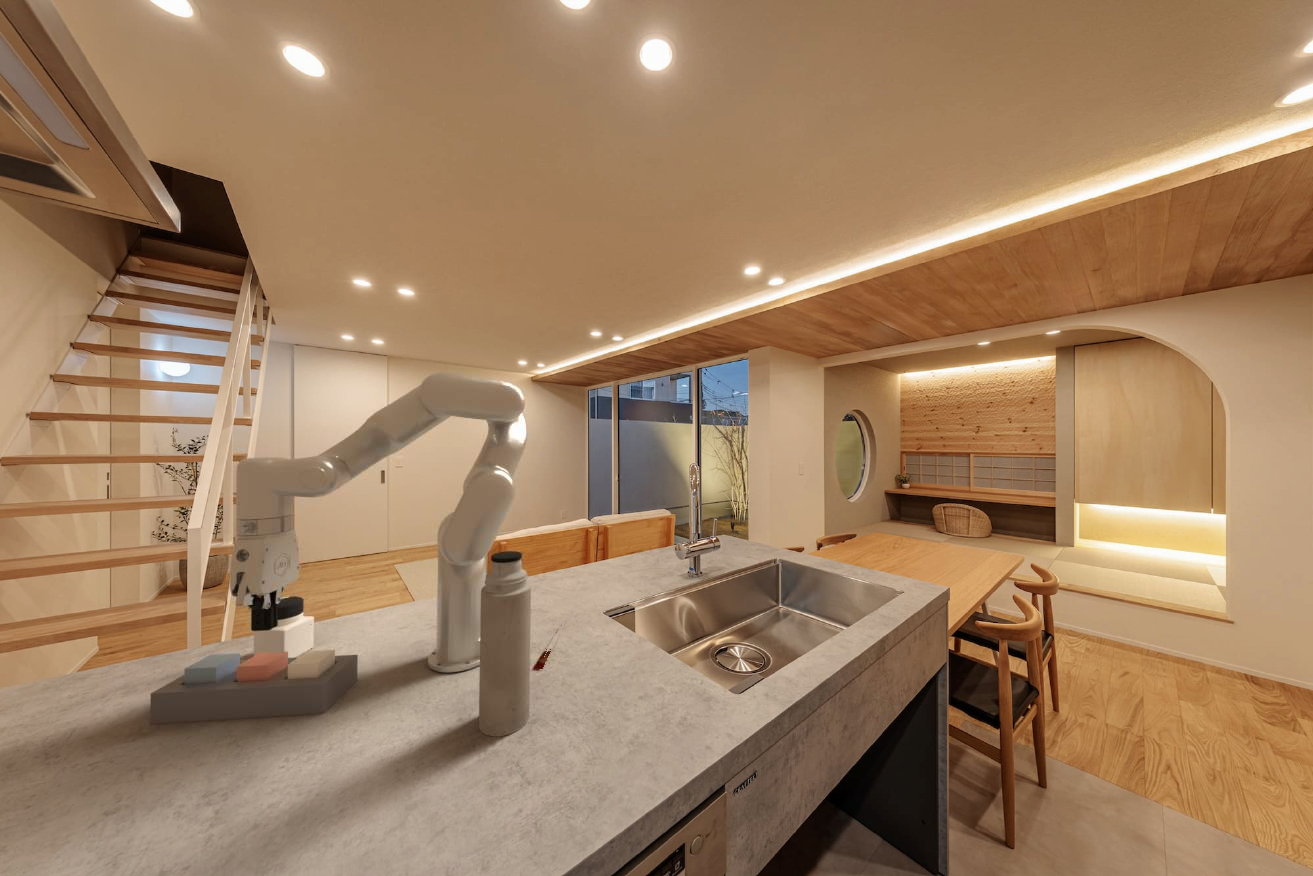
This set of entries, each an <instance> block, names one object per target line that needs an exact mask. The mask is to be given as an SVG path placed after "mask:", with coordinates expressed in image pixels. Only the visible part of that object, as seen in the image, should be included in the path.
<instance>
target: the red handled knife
mask: <svg viewBox="0 0 1313 876" xmlns="http://www.w3.org/2000/svg"><path fill="white" fill-rule="evenodd" d="M545 649H546V648H545ZM546 650H547V649H546ZM550 650H551V649H550ZM546 652H547V651H544V650H543V652H542V653H541V655H540V656H539V658H538V660H537V661H536V663H535V664H534V666H533V667H532V670H533V669H543V670H544V668H545V666H546V664H545V662H546V661H548V660H547V658H548V656H549V654H550V652H551V651H548V652H547V653H546ZM551 653H552V652H551ZM545 654H546V655H545ZM550 655H551V654H550ZM544 656H545V657H544ZM549 657H550V656H549ZM548 659H549V658H548ZM546 663H547V662H546ZM544 665H545V666H544ZM543 667H544V668H543Z"/></svg>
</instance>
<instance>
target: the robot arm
mask: <svg viewBox="0 0 1313 876" xmlns="http://www.w3.org/2000/svg"><path fill="white" fill-rule="evenodd" d="M525 406H526V399H525V395H524V394H523V392H522V390H521V389H520V388H519V387H518V386H517V385H516V384H513V383H511V382H509V381H506V380H500V379H492V378H485V377H479V376H478V377H477V376H471V375H464V374H458V373H451V372H450V373H449V372H444V371H443V372H434V373H433V374H430V375H428V376H427V377H425V378H424V379H423V380H422V382H421V384H420V385H418V386H416V387H415V388H413V389H412V390H410V391H409V392H408V393H405V394H404V395H402V396H401V397H399V398H398V399H395V400H394V401H392V402H391V403H389V404H387V405H385V406H384V407H383V408H380V409H378V410H377V411H376V412H374V413H373V414H372V415H370V416H369V417H368V418H367V419H366V420H365V422H364V423H362V425H361V426H360V427H358V429H357V430H355V431H354V432H353V433H351V434H350V435H348V436H347V437H345V438H344V439H342V440H341V441H340V442H338V443H336V444H334V445H333V446H331V447H330V448H327V449H326V450H324V451H323V452H321V453H320V454H318V455H314V456H307V457H301V458H292V459H289V458H286V457H271V456H270V457H267V456H266V457H248V458H244V459H242V460H239V462H238V463H237V465H236V475H235V476H236V479H235V482H236V485H235V488H236V489H235V490H236V491H235V492H236V493H235V494H236V495H235V496H236V497H235V502H236V503H235V506H236V507H235V509H236V510H235V511H236V512H235V514H236V515H235V516H236V517H235V520H236V522H235V540H234V543H233V548H232V549H233V550H232V556H231V561H230V572H229V591H230V594H231V596H233V597H236V599H235V600H236V601H235V606H236V607H246V606H247V609H248V610H249V611H250V610H251V612H250V613H251V614H250V616H251V617H250V618H251V619H250V630H251V631H252V632H254V631H267V630H271V629H272V628H274V627H276V626H277V625H278V603H279V602H280V600H281V598H282V593H283V591H284V590H285V589H286V588H288V587H289V586H291V584H292V583H294V582H296V581H297V580H298V579H299V577H300V555H299V545H298V544H299V543H298V538H297V535H296V530H295V529H294V497H295V498H298V497H299V498H321V497H325V496H328V495H330V494H332V493H333V492H335V491H336V490H338V489H340V488H341V487H343V486H345V484H347V483H348V482H350V481H352V480H353V479H355V478H356V477H358V476H360V475H361V474H362V473H364V472H366V470H368V469H370V468H372V467H373V466H374V465H376V464H378V463H379V462H381V461H382V460H384V459H386V458H387V457H390V456H391V455H395V453H398V452H399V451H400V450H403V449H404V448H406V447H407V446H409V445H410V444H411V443H413V442H414V441H416V440H418V439H419V438H420V437H422V436H423V435H425V434H426V433H429V431H431V430H432V429H434V428H435V427H437V426H438V425H440V424H442V423H443V422H444V421H446V420H447V419H449V418H451V417H458V418H465V419H473V420H483V421H486V423H487V427H488V428H487V430H488V431H487V435H486V438H485V441H484V443H483V445H482V447H481V449H480V451H479V453H478V456H477V458H476V459H475V461H474V463H473V465H472V468H471V469H470V471H469V472H468V474H467V475H466V476H465V477H466V478H465V479H464V482H463V485H462V491H463V493H462V495H461V497H460V499H459V502H458V503H457V505H456V507H455V509H454V511H453V512H450V513H449V514H448V515H446V516H445V518H443V520H442V521H441V522H440V525H438V526H439V527H438V530H437V538H436V539H437V540H436V541H437V542H436V543H437V589H436V590H437V597H436V605H437V606H436V648H435V649H434V650H432V652H430V653H429V655H428V657H427V665H428V666H427V667H429V668H430V669H431V670H433V671H435V672H438V673H456V672H457V673H458V672H463V671H467V670H471V669H474V668H476V667H477V666H480V613H481V589H482V588H483V587H484V586H485V580H486V575H487V555H488V554H489V552H490V550H491V549H492V547H493V545H494V543H495V541H496V539H497V537H498V535H499V533H500V531H501V529H502V527H503V524H504V522H505V520H506V518H507V516H508V514H509V512H510V510H511V507H512V506H513V503H514V499H515V497H516V485H515V481H514V478H513V476H514V474H515V473H516V470H517V468H518V465H519V463H520V460H521V459H522V457H523V454H524V451H525V449H526V445H527V440H528V426H527V422H526V419H525V415H524V413H523V411H524V409H525Z"/></svg>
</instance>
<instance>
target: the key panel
mask: <svg viewBox="0 0 1313 876" xmlns="http://www.w3.org/2000/svg"><path fill="white" fill-rule="evenodd" d="M298 657H299V656H297V657H296V658H288V664H290V663H291V662H292V661H294V660H295V659H297V658H298ZM358 657H359V655H358V654H343V655H335V664H334V665H333V666H332V667H331V668H330V669H328V670H327V671H326V672H325V673H323V674H322V675H321V676H320V677H319V678H302V679H288V666H287V667H286V668H285V669H283V670H282V671H280V672H279V673H278V674H276V675H275V676H273V677H272V678H271V679H269V680H264V681H245V682H237V670H236V671H235V672H233V673H232V674H230V675H228V676H227V677H225V678H224V679H222V680H220V681H219V682H217V683H207V684H187V685H184V676H185V674H183V675H181V676H180V677H177V678H176V679H173V681H171V682H169V683H166V684H165V685H163V686H161V687H160V688H157V689H156V690H155V691H152V692H150V713H149V714H150V715H149V724H150V725H157V724H172V723H173V724H175V723H189V722H204V721H205V722H207V721H208V722H209V721H221V720H222V721H223V720H237V719H238V720H239V719H254V718H255V719H256V718H269V717H270V718H271V717H272V718H273V717H288V716H302V715H303V716H304V715H318V714H319V715H321V714H324V713H325V712H326V711H327V710H329V709H330V708H331V707H332V706H333V705H334V704H335V703H336V702H337V701H338V700H339V699H340V698H341V697H342V696H343V695H344V694H345V693H346V692H347V691H348V690H349V689H350V688H351V687H352V686H353V685H355V683H356V682H357V681H358V662H359V661H358ZM247 660H248V659H240V664H242V663H244V662H245V661H247Z"/></svg>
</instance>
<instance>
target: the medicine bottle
mask: <svg viewBox="0 0 1313 876" xmlns="http://www.w3.org/2000/svg"><path fill="white" fill-rule="evenodd" d="M304 603H305V601H304V598H303V597H300V596H295V595H293V596H284V597H281V600H280V602H279V603H278V625H277V626H276V627H274V628H272V629H271V630H267V631H253V656H255V655H257V654H258V653H266V652H288V658H297V657H299V656H301V655H302V654H304V653H305V652H306V651H308V650H309V651H311V650H312V649H314V643H315V642H314V639H315V616H313V615H312V616H311V615H310V616H309V615H308V616H307V615H304V607H305V606H304ZM310 624H312V625H310ZM294 627H295V628H294ZM311 648H312V649H311ZM310 649H311V650H310Z"/></svg>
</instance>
